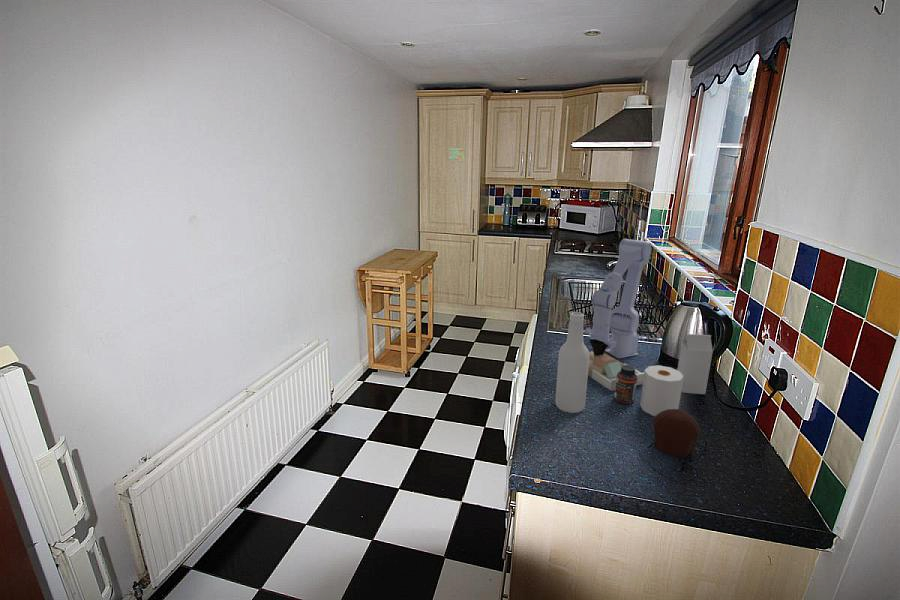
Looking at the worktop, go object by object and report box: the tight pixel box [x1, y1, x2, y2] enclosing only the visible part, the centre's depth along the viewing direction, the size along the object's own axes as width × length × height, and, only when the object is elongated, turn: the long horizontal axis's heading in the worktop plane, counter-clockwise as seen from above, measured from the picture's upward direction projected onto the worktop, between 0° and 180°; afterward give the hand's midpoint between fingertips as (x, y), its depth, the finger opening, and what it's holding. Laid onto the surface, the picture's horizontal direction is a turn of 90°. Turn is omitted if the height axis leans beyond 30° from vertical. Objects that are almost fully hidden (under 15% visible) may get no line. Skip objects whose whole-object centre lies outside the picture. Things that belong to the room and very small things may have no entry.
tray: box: [591, 363, 644, 392], centre depth 152 cm, size 14×10×4 cm
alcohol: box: [554, 311, 590, 414], centre depth 133 cm, size 9×9×30 cm
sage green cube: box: [604, 361, 621, 379], centre depth 154 cm, size 4×4×3 cm
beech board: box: [588, 350, 625, 379], centre depth 163 cm, size 14×14×2 cm
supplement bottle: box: [613, 364, 637, 405], centre depth 139 cm, size 6×6×11 cm
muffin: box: [652, 408, 702, 458], centre depth 116 cm, size 12×11×10 cm
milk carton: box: [676, 333, 713, 395], centre depth 144 cm, size 7×7×19 cm
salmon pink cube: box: [595, 353, 615, 369], centre depth 158 cm, size 4×4×3 cm
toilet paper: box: [639, 364, 684, 417], centre depth 134 cm, size 10×10×12 cm
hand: (598, 358), depth 162 cm, fingers closed
